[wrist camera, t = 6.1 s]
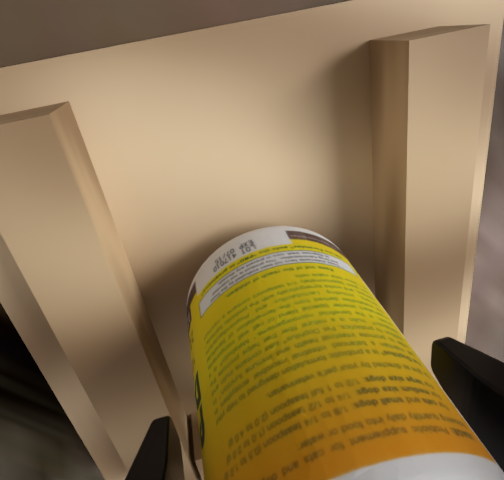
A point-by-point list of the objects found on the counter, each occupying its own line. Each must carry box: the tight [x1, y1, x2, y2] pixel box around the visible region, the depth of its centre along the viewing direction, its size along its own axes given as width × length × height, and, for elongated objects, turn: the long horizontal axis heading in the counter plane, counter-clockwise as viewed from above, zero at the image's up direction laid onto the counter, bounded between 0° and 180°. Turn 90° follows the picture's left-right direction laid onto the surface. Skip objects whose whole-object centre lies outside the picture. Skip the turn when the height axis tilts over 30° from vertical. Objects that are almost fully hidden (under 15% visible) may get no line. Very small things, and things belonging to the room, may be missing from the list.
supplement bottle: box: [187, 226, 504, 480], centre depth 9 cm, size 6×6×10 cm
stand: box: [0, 0, 504, 480], centre depth 13 cm, size 16×16×4 cm
